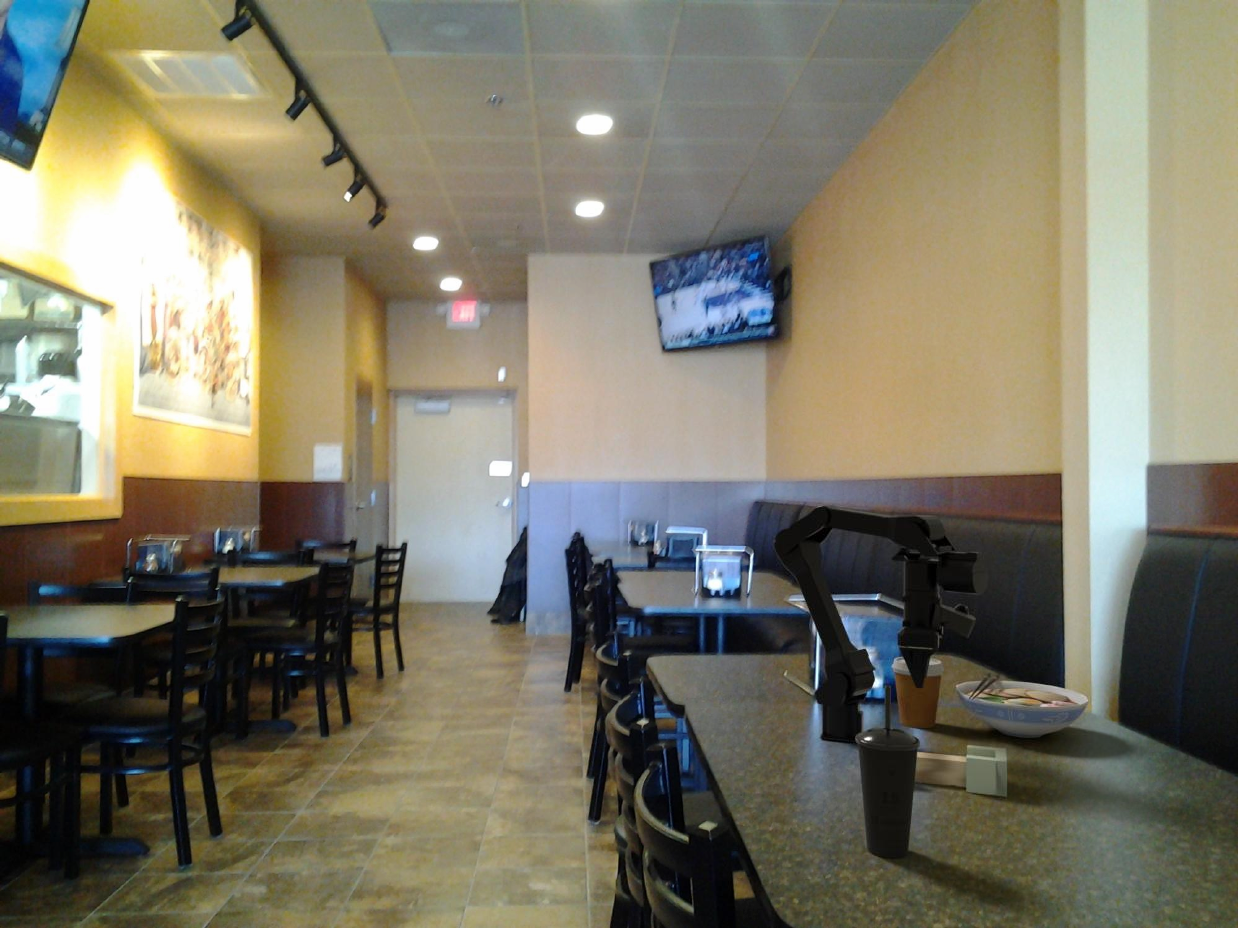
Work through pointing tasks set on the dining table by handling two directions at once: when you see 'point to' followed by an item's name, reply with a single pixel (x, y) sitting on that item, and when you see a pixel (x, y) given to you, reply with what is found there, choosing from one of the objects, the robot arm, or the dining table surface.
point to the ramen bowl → (1021, 706)
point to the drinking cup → (887, 785)
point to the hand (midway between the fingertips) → (921, 682)
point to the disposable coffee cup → (917, 694)
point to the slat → (941, 769)
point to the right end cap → (986, 770)
